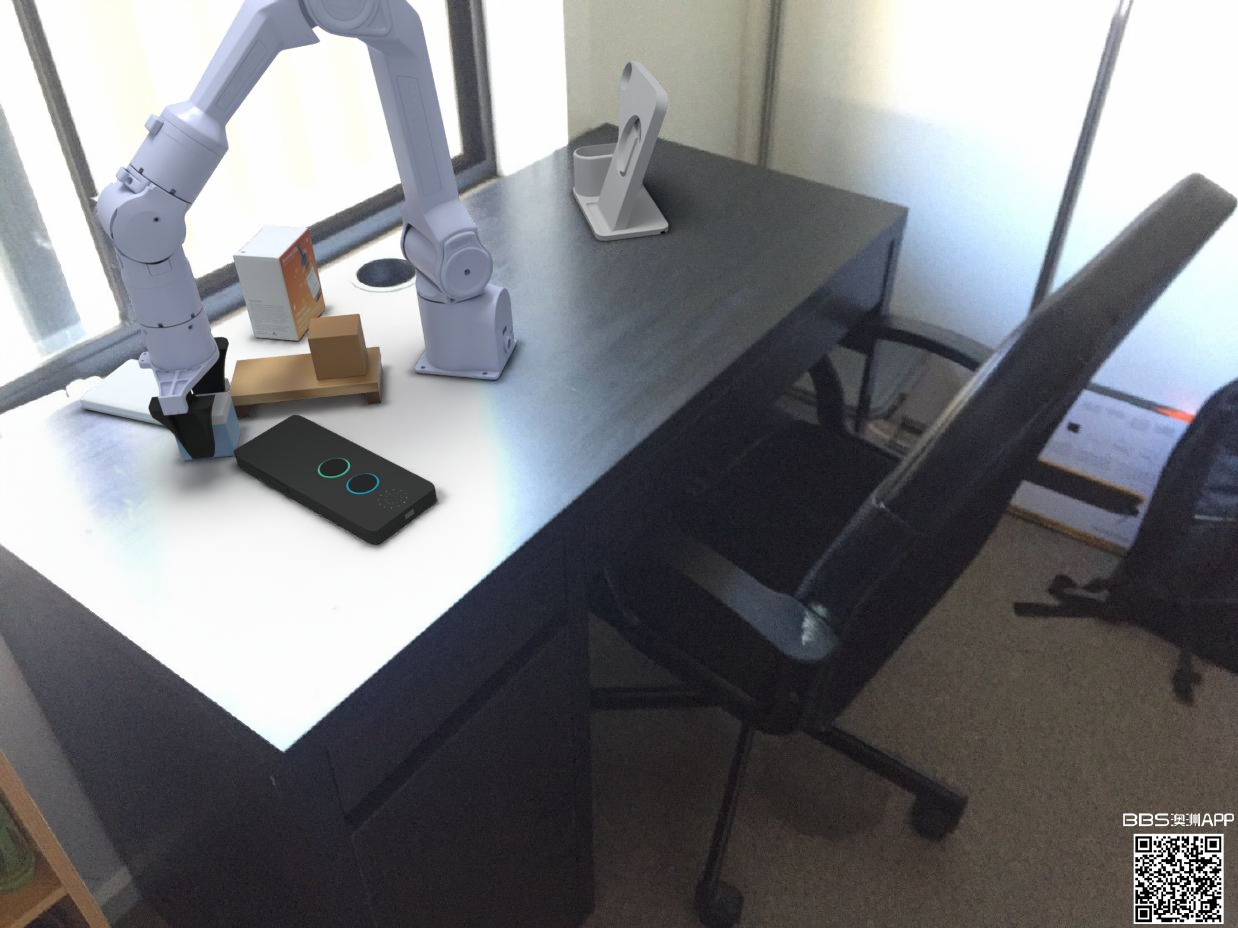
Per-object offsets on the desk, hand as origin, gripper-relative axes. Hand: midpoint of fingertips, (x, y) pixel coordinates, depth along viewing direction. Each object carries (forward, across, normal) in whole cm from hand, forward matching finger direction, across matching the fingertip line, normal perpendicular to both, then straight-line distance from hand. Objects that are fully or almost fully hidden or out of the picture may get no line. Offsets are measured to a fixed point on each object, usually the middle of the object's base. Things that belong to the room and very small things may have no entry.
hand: (209, 432), depth 104 cm
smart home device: (+2, +8, +12) cm, 15 cm away
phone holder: (+2, -46, +48) cm, 66 cm away
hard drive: (+2, -9, -7) cm, 12 cm away
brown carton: (-1, -8, +13) cm, 15 cm away
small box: (+2, -23, +6) cm, 24 cm away
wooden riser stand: (+2, -8, +9) cm, 12 cm away
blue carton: (+2, 0, 0) cm, 2 cm away
